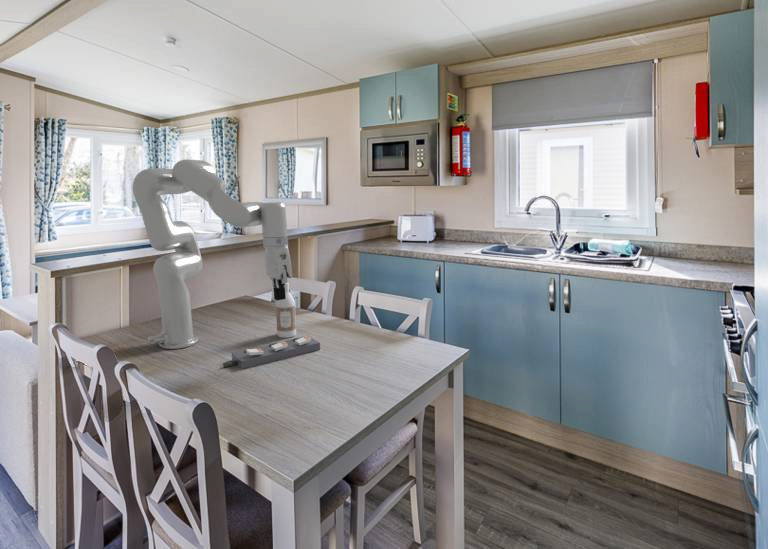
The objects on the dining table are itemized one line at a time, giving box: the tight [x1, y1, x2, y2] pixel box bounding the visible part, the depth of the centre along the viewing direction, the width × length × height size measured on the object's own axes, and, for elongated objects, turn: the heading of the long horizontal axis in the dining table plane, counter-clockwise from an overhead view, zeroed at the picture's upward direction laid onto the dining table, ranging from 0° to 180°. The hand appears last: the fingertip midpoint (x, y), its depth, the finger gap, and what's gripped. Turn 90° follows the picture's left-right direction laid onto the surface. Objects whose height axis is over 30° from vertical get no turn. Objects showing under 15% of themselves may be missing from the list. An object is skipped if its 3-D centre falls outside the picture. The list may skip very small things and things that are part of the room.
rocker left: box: [245, 348, 264, 355], centre depth 142 cm, size 4×3×1 cm
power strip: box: [222, 335, 321, 370], centre depth 148 cm, size 31×9×3 cm, turn 127°
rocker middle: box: [271, 340, 288, 351], centre depth 147 cm, size 4×3×1 cm
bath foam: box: [275, 282, 297, 339], centre depth 167 cm, size 7×7×20 cm
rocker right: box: [295, 335, 312, 345], centre depth 152 cm, size 4×3×1 cm
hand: (280, 299), depth 146 cm, fingers closed
